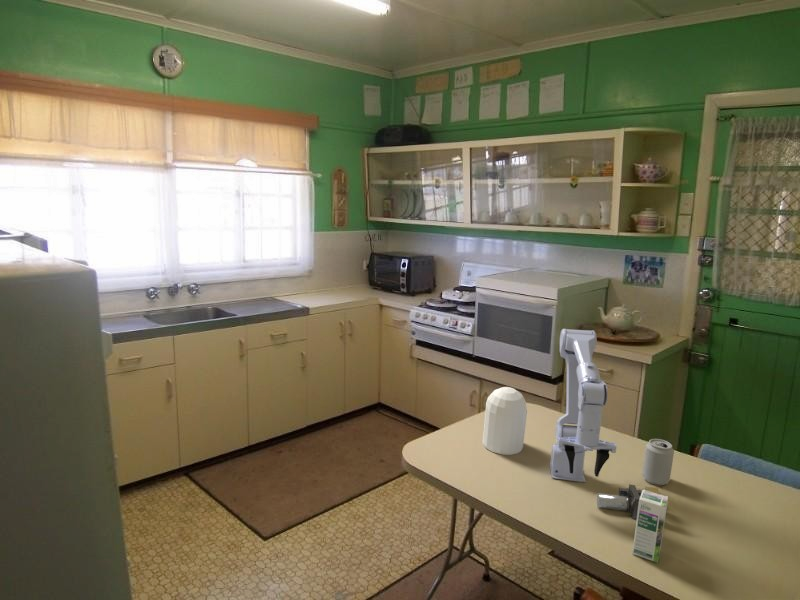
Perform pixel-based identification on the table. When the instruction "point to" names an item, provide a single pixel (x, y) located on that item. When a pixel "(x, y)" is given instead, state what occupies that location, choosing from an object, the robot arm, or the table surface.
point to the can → (658, 462)
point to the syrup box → (650, 525)
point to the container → (505, 421)
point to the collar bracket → (635, 496)
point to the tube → (615, 502)
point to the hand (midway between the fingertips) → (583, 473)
